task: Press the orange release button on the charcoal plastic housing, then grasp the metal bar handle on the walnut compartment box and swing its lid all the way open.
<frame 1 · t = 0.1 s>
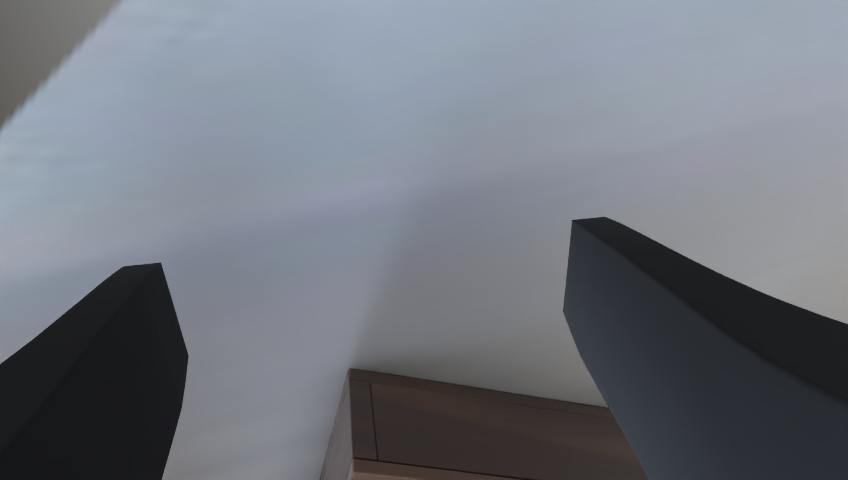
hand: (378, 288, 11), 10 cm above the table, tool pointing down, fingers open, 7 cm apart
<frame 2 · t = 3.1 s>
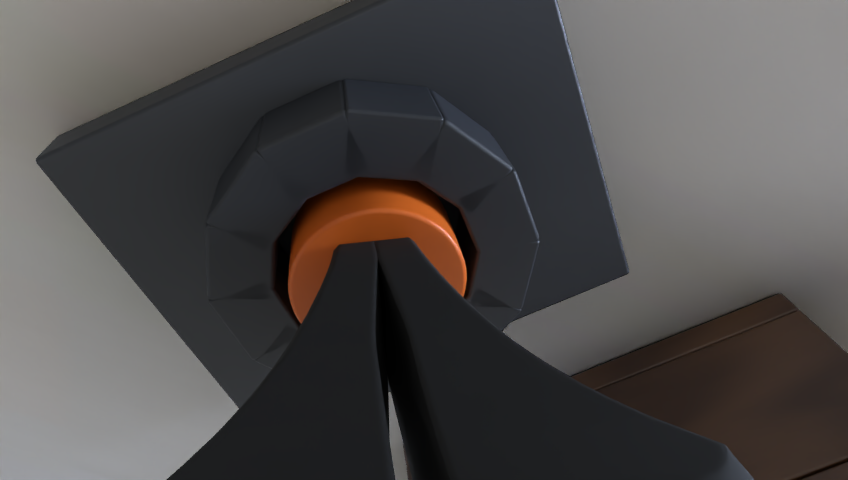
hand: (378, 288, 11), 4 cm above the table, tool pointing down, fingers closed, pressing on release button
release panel: (366, 199, 14), on the table
release button: (375, 263, 12), point 3 cm above the table, slide at -0.7 cm, touching gripper
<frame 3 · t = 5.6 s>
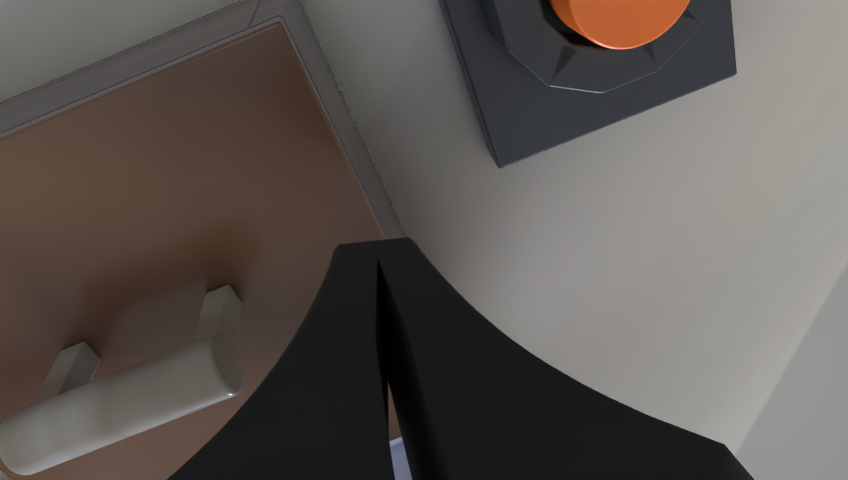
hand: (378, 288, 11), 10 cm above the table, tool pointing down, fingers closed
compartment: (195, 227, 21), on the table
lid: (155, 383, 15), point 7 cm above the table, hinge at 0.0°
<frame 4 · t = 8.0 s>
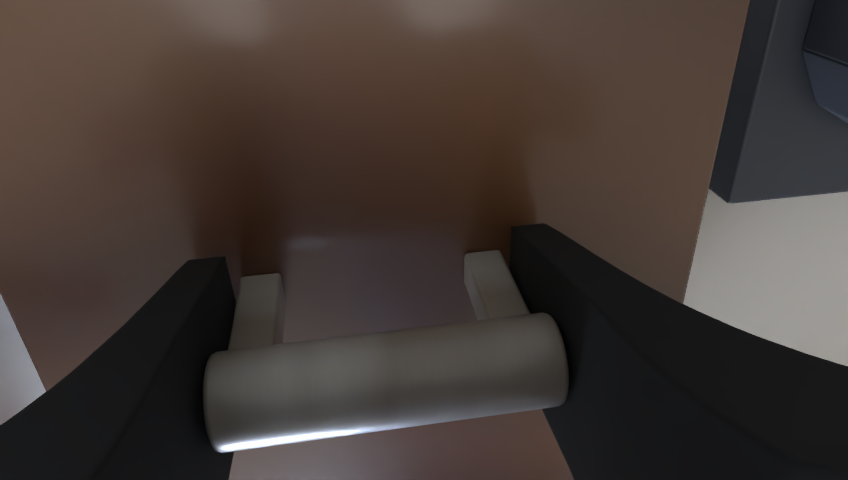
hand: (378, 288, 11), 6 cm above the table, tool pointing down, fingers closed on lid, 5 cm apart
lid: (384, 357, 11), point 7 cm above the table, hinge at 0.0°, touching gripper
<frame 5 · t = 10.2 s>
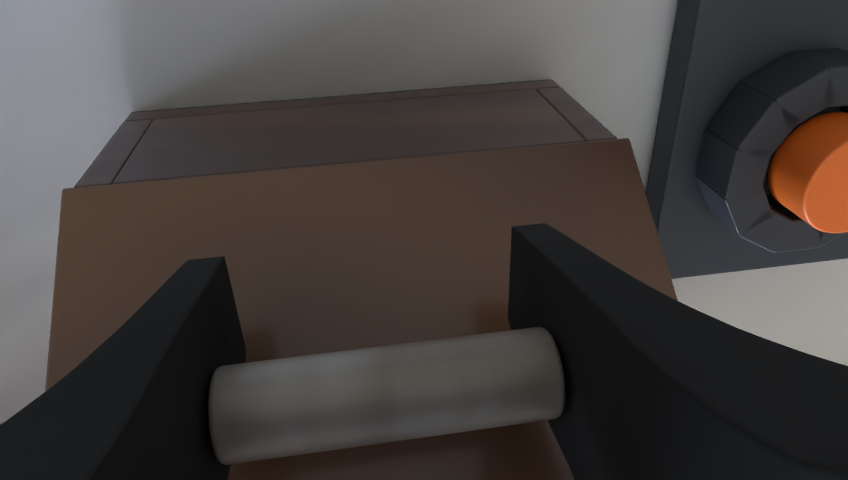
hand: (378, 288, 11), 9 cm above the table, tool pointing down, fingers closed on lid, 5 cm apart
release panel: (764, 130, 21), on the table
compartment: (365, 257, 22), on the table
lid: (394, 447, 10), point 11 cm above the table, hinge at 52.9°, touching gripper
release button: (836, 172, 18), point 3 cm above the table, slide at 0.1 cm
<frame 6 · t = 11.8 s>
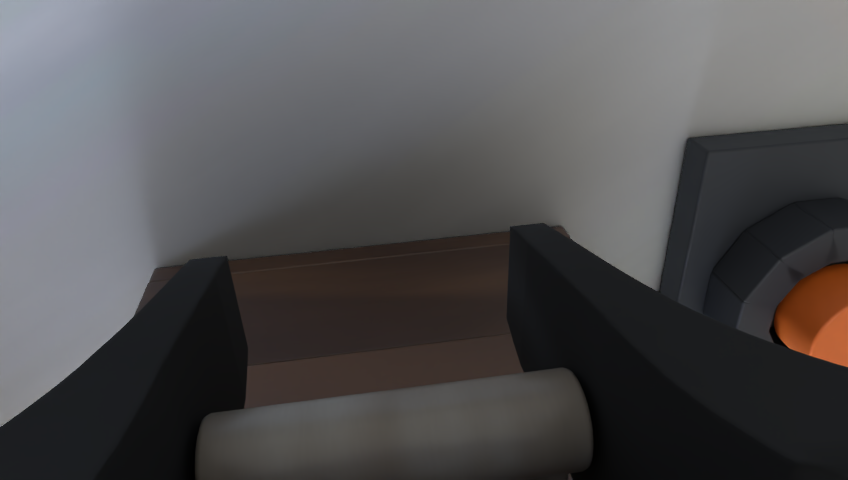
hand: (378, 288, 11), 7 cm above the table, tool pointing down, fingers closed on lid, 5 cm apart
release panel: (769, 262, 22), on the table
compartment: (379, 386, 22), on the table
release button: (841, 322, 19), point 3 cm above the table, slide at 0.1 cm
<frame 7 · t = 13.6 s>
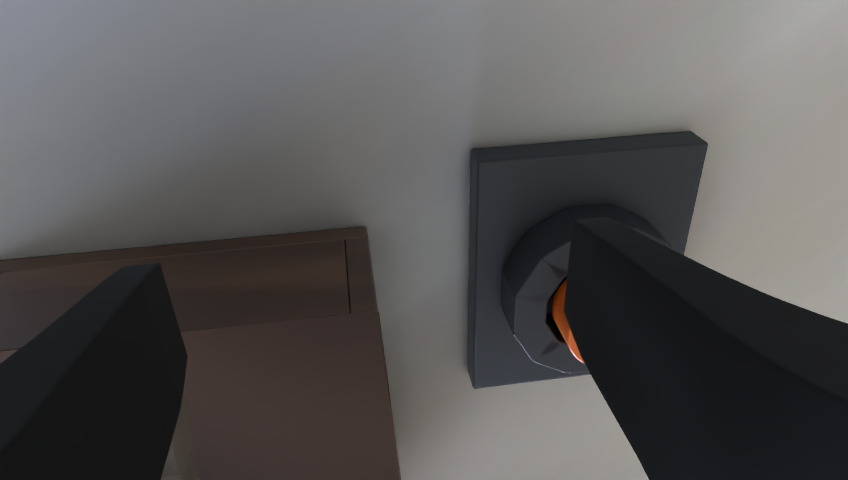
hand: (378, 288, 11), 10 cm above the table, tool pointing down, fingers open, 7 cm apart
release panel: (569, 260, 24), on the table
compartment: (216, 369, 24), on the table
release button: (604, 314, 21), point 3 cm above the table, slide at 0.1 cm
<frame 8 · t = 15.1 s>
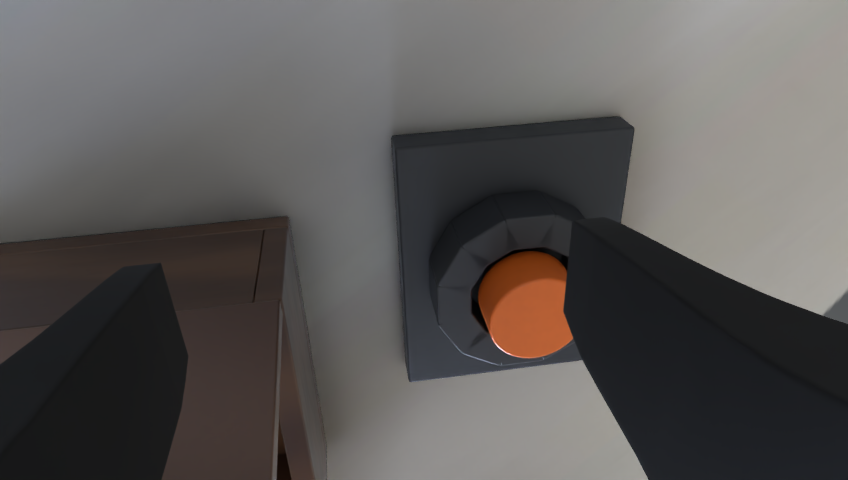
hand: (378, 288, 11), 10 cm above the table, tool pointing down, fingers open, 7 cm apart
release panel: (503, 250, 24), on the table
compartment: (144, 364, 24), on the table
release button: (530, 304, 21), point 3 cm above the table, slide at 0.1 cm
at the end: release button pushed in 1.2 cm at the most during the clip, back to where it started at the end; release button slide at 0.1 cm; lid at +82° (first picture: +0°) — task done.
